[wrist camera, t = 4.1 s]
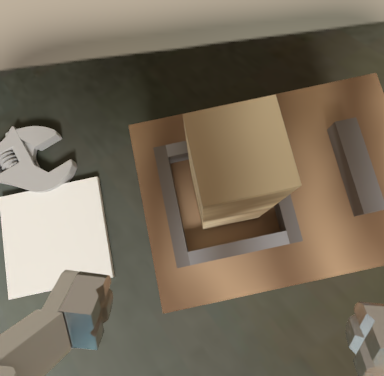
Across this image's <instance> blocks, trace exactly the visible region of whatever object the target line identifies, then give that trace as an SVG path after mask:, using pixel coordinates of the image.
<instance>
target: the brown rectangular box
mask: <svg viewBox="0 0 384 376" xmlns="http://www.w3.org/2000/svg"><path fill="white" fill-rule="evenodd" d="M274 95H275V94H274ZM269 96H271V95H269ZM264 97H266V96H264ZM276 97H277V101H278V104H279V108H280V111H281V115H282V118H283V122H284V125H285V129H286V132H287V136H288V139H289V142H290V146H291V149H292V153H293V156H294V160H295V163H296V167H297V170H298V174H299V177H300V181H301V184H302V186H300V187H299V188H298V189H296V190H295V191H294V192H292V193H291V194H290V195H288V196H287V197H286V198H284V199H283V200H281V201H280V202H279V203H277V204H276V205H275V206H273V207H272V208H271V209H269V210H268V211H267V212H265V213H264V214H262V215H261V216H260V217H258V218H255V219H251V220H246V221H242V222H237V223H232V224H228V225H223V226H218V227H214V228H209V229H204V230H203V227H202V223H201V218H200V213H199V209H198V204H197V200H196V195H195V191H194V186H193V181H192V177H191V170H190V163H189V156H188V149H187V142H186V135H185V128H184V122H183V115H182V114H179V115H175V116H170V117H165V118H160V119H156V120H151V121H146V122H142V123H137V124H132V125H128V126H129V131H130V137H131V142H132V148H133V153H134V158H135V164H136V169H137V175H138V180H139V186H140V191H141V196H142V202H143V207H144V213H145V218H146V224H147V229H148V235H149V240H150V245H151V251H152V256H153V262H154V267H155V273H156V278H157V283H158V289H159V294H160V300H161V305H162V311H163V314H164V313H169V312H173V311H178V310H182V309H187V308H191V307H196V306H201V305H205V304H210V303H214V302H219V301H224V300H228V299H233V298H237V297H242V296H246V295H251V294H256V293H260V292H265V291H269V290H274V289H279V288H283V287H288V286H292V285H297V284H302V283H306V282H311V281H315V280H320V279H324V278H329V277H334V276H338V275H343V274H347V273H352V272H357V271H361V270H366V269H370V268H375V267H379V266H384V93H383V90H382V88H381V85H380V82H379V79H378V76H377V74H376V73H373V74H368V75H363V76H359V77H354V78H349V79H345V80H340V81H335V82H330V83H326V84H321V85H316V86H311V87H307V88H302V89H297V90H293V91H288V92H283V93H278V94H276ZM260 98H261V97H260ZM255 99H256V98H255ZM250 100H252V99H250ZM245 101H247V100H245ZM241 102H242V101H241ZM236 103H237V102H236ZM231 104H233V103H231ZM227 105H228V104H227ZM222 106H223V105H222ZM217 107H219V106H217ZM212 108H214V107H212ZM208 109H209V108H208ZM203 110H204V109H203ZM198 111H200V110H198ZM193 112H195V111H193ZM189 113H190V112H189ZM184 114H186V113H184Z"/></svg>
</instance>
